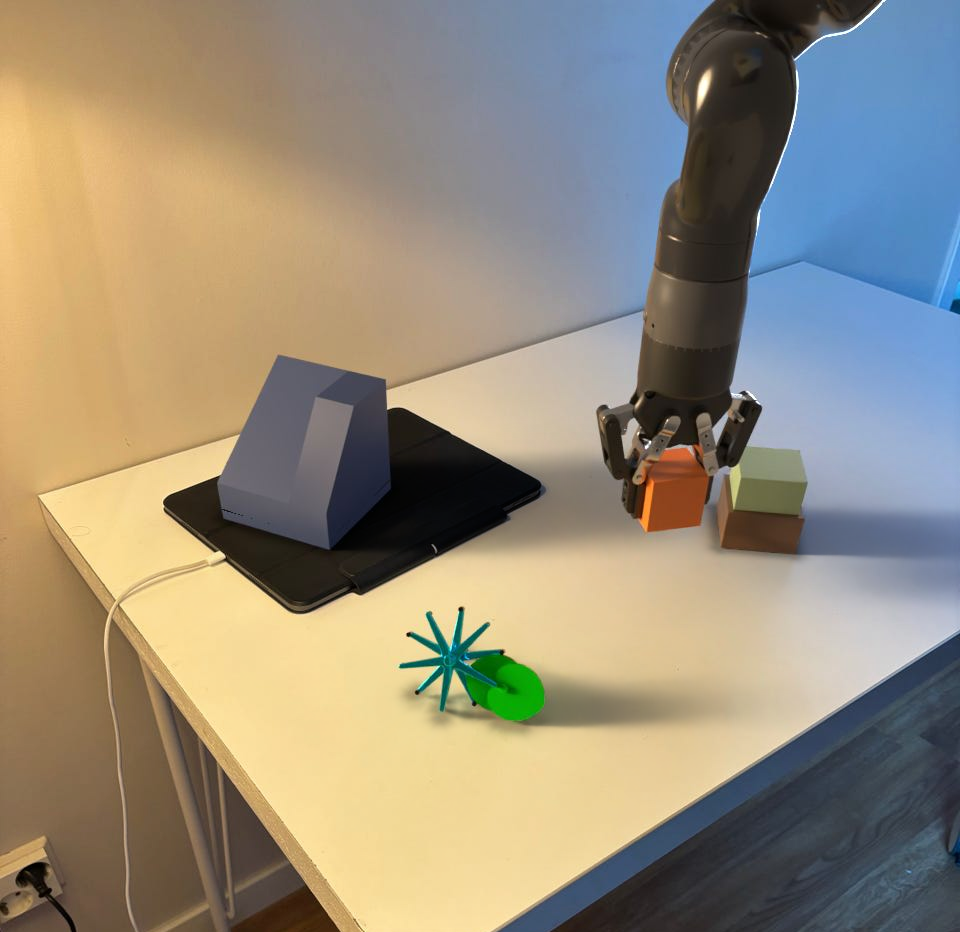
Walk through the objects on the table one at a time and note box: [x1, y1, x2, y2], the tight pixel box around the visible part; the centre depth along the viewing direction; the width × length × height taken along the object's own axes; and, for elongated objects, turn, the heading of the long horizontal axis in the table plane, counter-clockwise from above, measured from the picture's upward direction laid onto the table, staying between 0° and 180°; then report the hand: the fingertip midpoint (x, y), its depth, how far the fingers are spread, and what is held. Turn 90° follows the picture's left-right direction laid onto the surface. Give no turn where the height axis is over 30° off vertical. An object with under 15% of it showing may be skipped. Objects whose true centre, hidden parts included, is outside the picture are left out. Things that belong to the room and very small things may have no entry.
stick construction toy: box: [398, 605, 546, 722], centre depth 78 cm, size 12×7×8 cm
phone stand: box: [216, 354, 392, 551], centre depth 94 cm, size 12×12×12 cm
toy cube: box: [637, 447, 709, 533], centre depth 86 cm, size 5×5×5 cm
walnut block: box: [716, 473, 806, 555], centre depth 95 cm, size 7×7×4 cm
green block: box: [729, 445, 809, 515], centre depth 92 cm, size 6×6×4 cm
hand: (664, 509), depth 87 cm, fingers closed on toy cube, 5 cm apart
